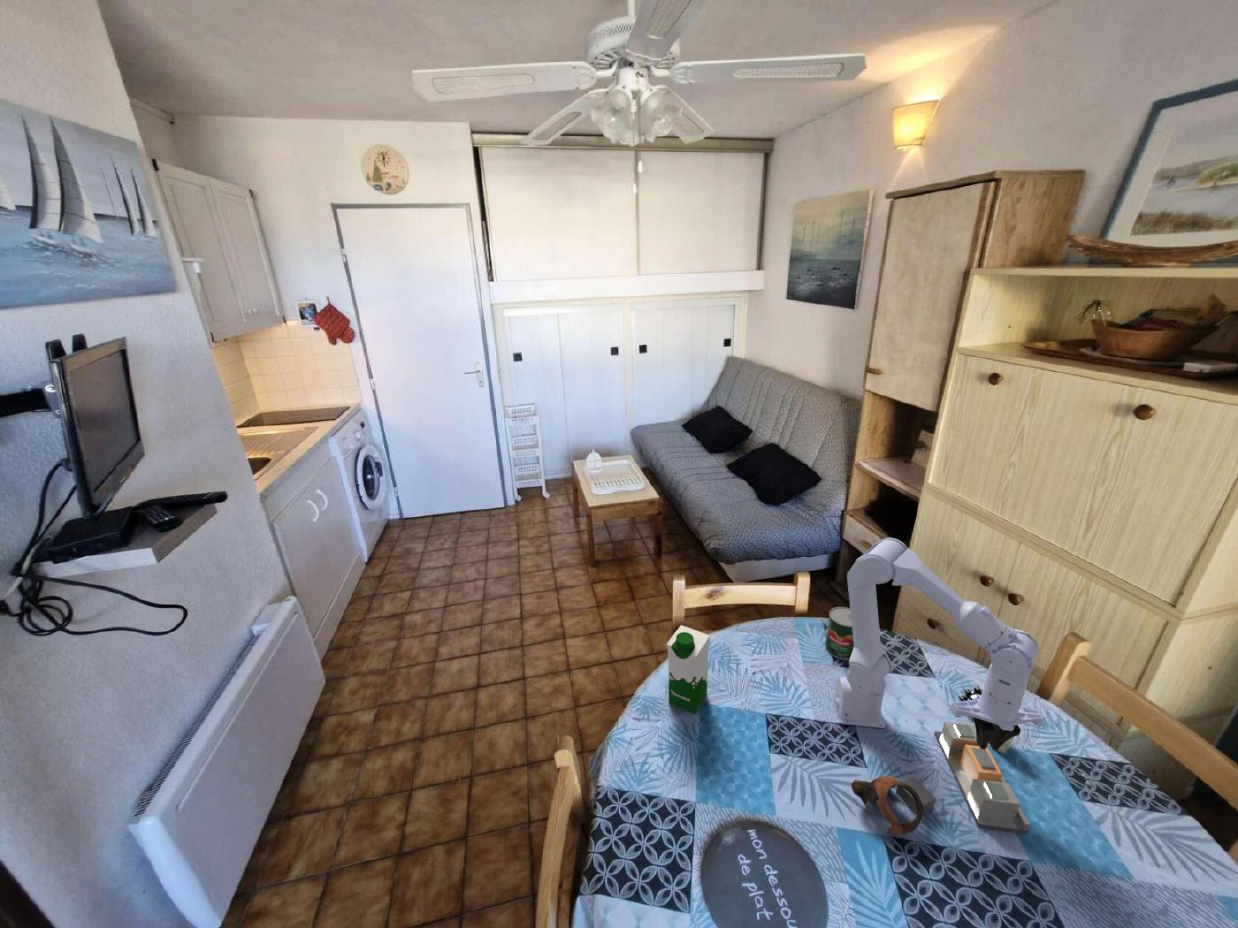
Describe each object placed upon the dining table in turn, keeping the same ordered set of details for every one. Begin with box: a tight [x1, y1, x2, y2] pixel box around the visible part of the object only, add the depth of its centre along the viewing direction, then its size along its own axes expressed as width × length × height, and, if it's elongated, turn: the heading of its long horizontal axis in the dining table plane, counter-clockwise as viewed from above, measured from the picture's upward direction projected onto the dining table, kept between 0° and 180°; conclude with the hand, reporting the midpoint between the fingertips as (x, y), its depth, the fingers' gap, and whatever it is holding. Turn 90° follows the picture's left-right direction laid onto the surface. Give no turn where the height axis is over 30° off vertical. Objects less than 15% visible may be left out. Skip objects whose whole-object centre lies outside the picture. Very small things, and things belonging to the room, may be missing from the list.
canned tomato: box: [824, 606, 854, 661], centre depth 134 cm, size 8×8×11 cm
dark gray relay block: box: [895, 775, 937, 816], centre depth 97 cm, size 4×5×3 cm
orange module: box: [960, 745, 1004, 785], centre depth 100 cm, size 4×6×5 cm, turn 170°
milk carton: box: [666, 624, 711, 715], centre depth 120 cm, size 9×9×20 cm
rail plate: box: [934, 721, 1031, 835], centre depth 100 cm, size 8×20×6 cm, turn 170°
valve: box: [958, 685, 1015, 754], centre depth 110 cm, size 7×7×12 cm
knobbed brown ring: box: [850, 775, 924, 837], centre depth 95 cm, size 12×10×8 cm
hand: (986, 745), depth 98 cm, fingers closed
